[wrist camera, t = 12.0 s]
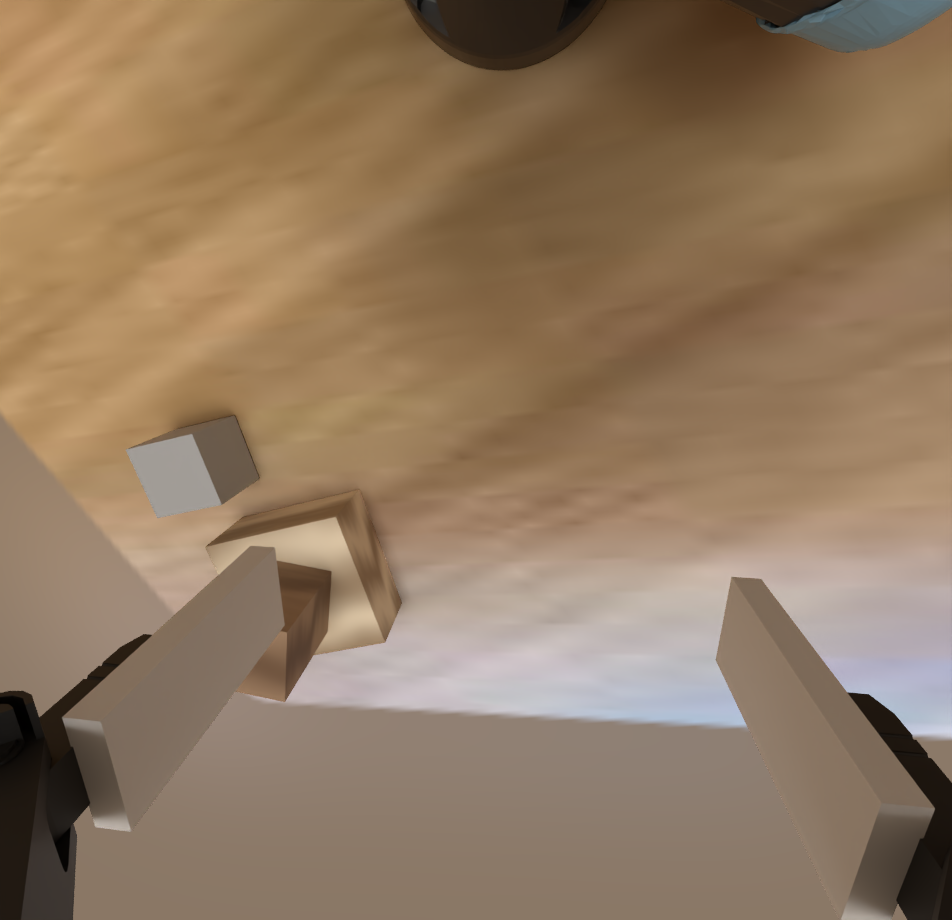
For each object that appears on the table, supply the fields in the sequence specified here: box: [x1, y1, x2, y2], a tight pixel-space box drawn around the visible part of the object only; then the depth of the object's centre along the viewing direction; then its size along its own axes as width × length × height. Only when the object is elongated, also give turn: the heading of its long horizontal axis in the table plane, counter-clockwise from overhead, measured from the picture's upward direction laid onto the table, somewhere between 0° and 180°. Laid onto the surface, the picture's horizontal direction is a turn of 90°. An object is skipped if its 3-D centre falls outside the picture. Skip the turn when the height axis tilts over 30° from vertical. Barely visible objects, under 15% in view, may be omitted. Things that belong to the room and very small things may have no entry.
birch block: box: [205, 489, 402, 655], centre depth 47 cm, size 12×12×6 cm
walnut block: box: [235, 561, 332, 702], centre depth 40 cm, size 6×6×8 cm
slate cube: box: [126, 415, 259, 518], centre depth 44 cm, size 6×6×6 cm
